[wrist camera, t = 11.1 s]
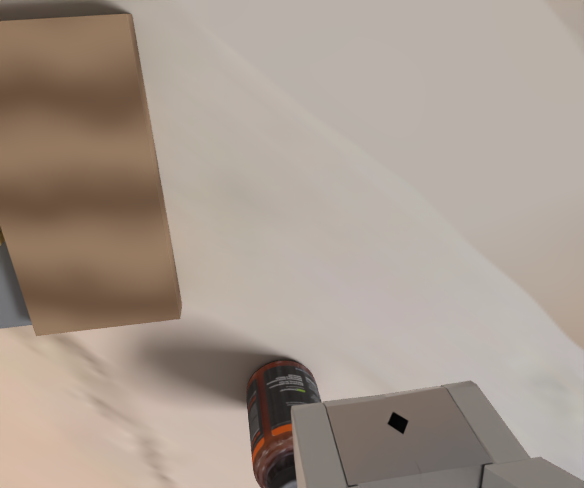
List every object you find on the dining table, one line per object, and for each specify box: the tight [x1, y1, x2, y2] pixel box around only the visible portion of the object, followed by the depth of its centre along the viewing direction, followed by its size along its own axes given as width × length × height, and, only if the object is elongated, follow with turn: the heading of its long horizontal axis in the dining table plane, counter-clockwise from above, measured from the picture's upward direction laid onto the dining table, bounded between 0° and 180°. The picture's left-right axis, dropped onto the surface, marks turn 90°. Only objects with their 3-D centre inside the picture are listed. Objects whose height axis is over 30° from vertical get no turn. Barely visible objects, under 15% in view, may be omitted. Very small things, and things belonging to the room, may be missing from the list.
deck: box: [0, 14, 182, 336], centre depth 32 cm, size 20×10×2 cm, turn 3°
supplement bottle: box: [247, 361, 321, 488], centre depth 37 cm, size 6×6×11 cm
